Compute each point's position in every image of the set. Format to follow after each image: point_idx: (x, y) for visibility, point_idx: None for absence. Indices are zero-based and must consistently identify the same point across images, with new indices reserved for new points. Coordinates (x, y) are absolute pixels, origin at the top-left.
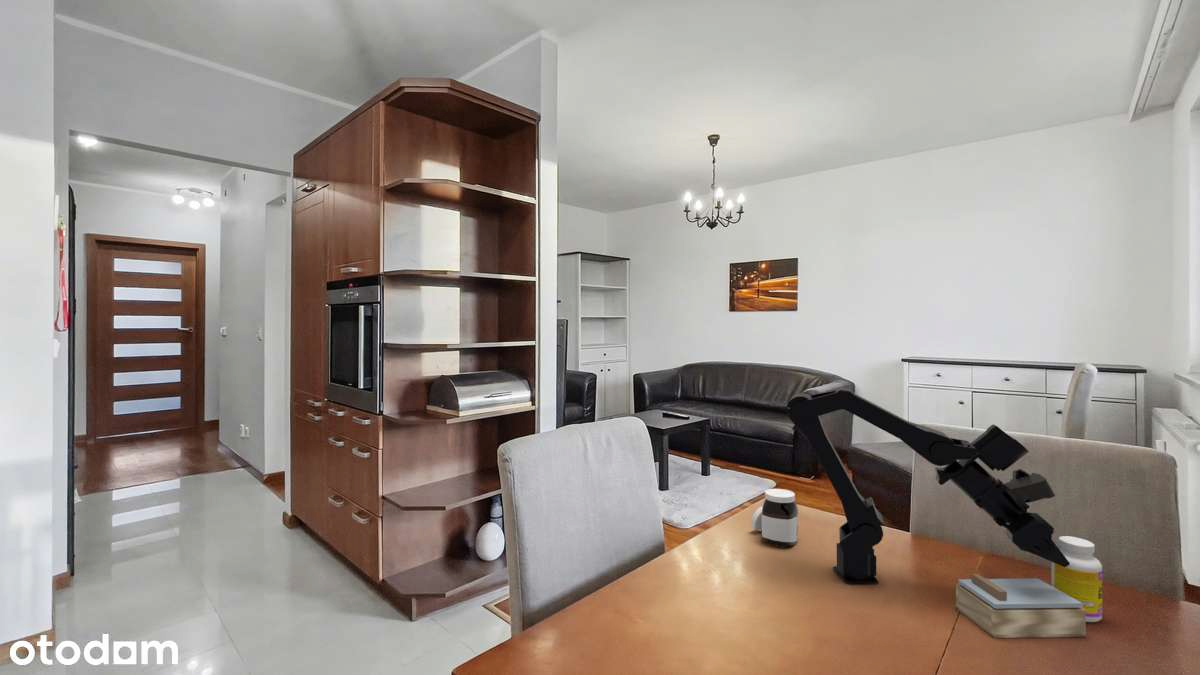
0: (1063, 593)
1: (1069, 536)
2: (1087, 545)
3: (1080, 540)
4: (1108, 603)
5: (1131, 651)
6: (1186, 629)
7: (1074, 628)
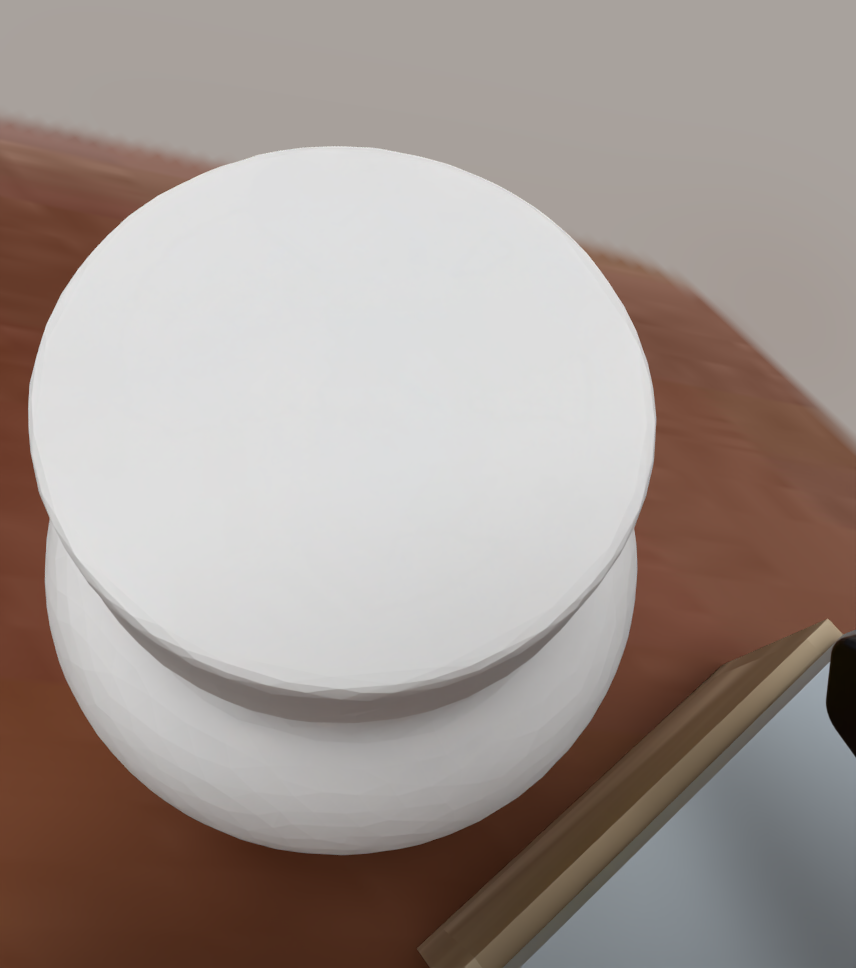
0: (750, 762)
1: (41, 458)
2: (526, 245)
3: (240, 303)
4: (5, 457)
5: (723, 462)
6: None
7: None
